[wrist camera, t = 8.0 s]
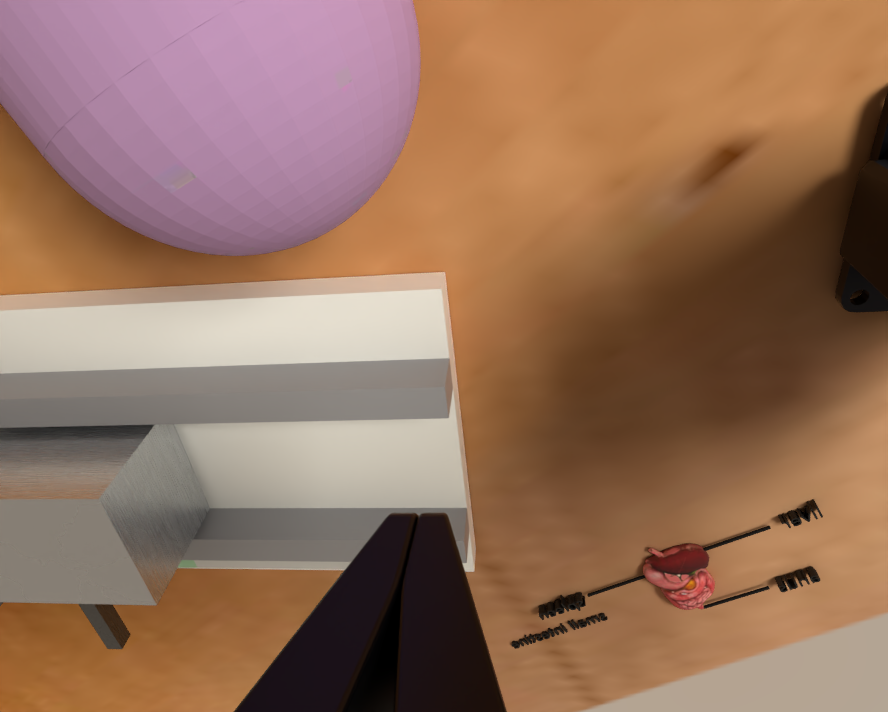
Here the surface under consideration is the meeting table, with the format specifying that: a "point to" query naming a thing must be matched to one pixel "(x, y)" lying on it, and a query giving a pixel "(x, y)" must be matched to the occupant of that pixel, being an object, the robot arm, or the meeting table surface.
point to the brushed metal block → (95, 517)
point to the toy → (215, 110)
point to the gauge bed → (263, 402)
